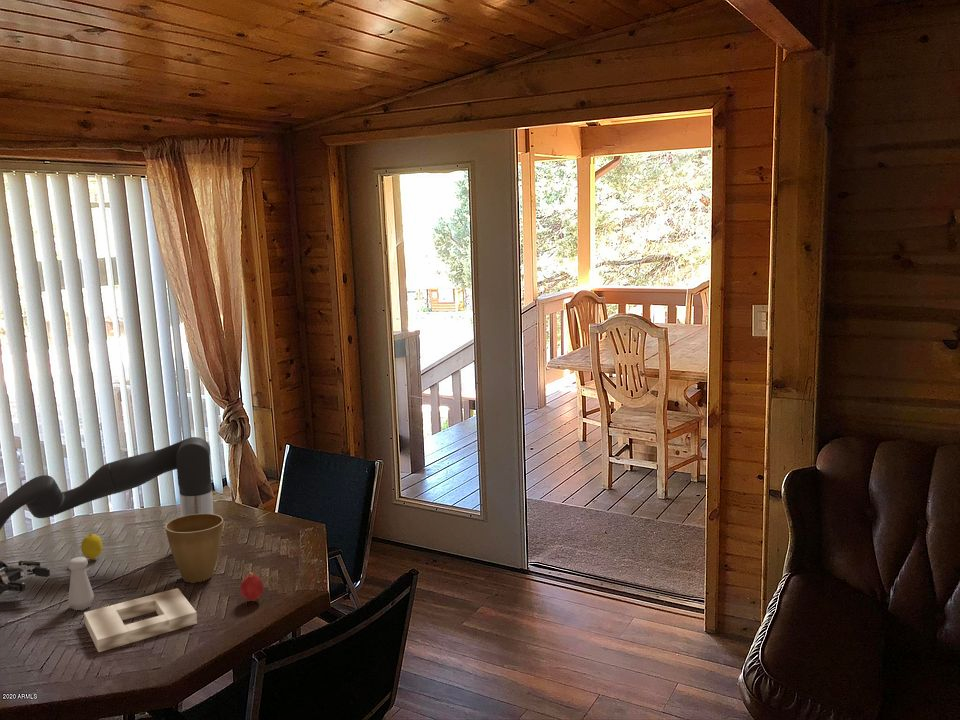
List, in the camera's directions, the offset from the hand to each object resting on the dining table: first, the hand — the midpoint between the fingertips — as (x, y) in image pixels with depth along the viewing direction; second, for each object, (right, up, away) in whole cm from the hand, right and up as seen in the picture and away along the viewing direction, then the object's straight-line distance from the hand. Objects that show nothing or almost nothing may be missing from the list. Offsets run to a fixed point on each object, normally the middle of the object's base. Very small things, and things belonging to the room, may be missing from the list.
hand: (36, 579), depth 195 cm
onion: (+54, -7, +3) cm, 54 cm away
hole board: (+30, -8, -8) cm, 32 cm away
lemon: (0, -3, +29) cm, 29 cm away
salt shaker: (+11, -7, 0) cm, 13 cm away
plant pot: (+35, -5, +17) cm, 39 cm away
